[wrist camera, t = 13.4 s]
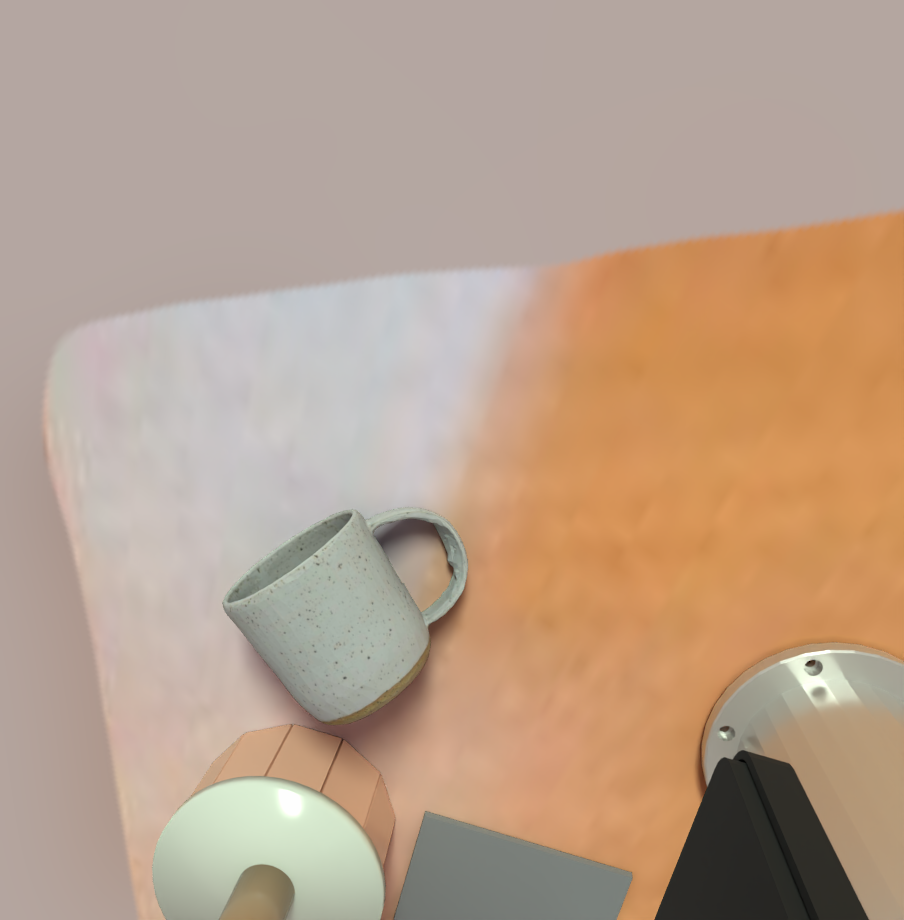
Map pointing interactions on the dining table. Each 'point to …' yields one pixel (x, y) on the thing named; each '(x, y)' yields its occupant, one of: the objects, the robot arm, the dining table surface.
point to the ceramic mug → (341, 614)
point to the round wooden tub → (312, 773)
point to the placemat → (503, 878)
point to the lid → (266, 856)
